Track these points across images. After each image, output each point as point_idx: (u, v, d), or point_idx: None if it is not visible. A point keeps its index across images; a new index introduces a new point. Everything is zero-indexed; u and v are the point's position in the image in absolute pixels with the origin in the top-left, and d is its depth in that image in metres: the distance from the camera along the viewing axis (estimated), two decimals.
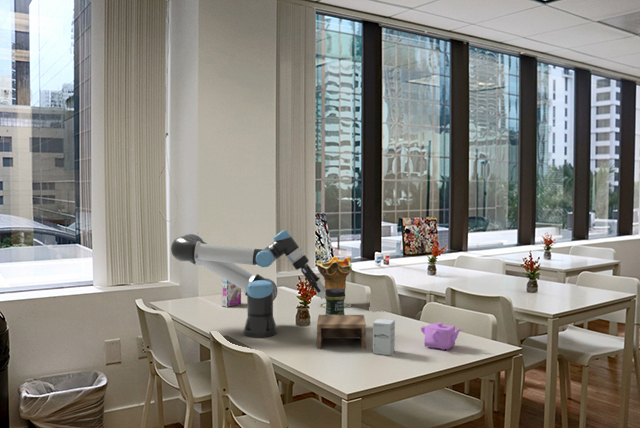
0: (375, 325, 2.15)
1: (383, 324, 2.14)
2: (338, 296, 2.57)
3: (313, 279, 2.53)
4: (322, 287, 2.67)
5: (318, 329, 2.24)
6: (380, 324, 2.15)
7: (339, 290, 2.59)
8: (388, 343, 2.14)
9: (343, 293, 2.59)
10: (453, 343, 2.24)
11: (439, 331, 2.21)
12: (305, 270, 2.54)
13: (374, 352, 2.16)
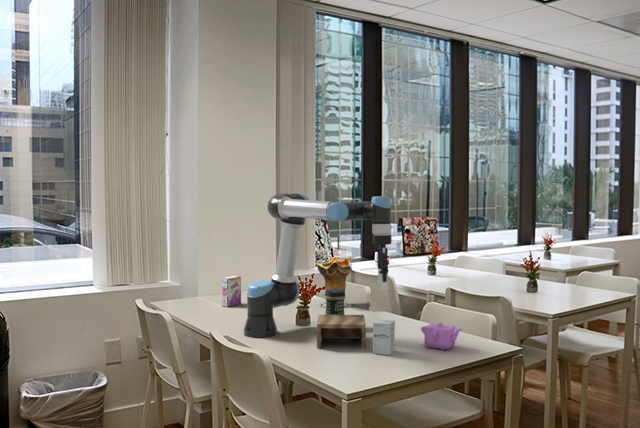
0: (375, 325, 2.15)
1: (383, 324, 2.14)
2: (338, 296, 2.57)
3: (387, 265, 2.11)
4: None
5: (318, 329, 2.24)
6: (380, 324, 2.15)
7: (339, 290, 2.59)
8: (388, 343, 2.14)
9: (343, 293, 2.59)
10: (453, 343, 2.24)
11: (439, 331, 2.21)
12: (385, 251, 2.12)
13: (374, 352, 2.16)
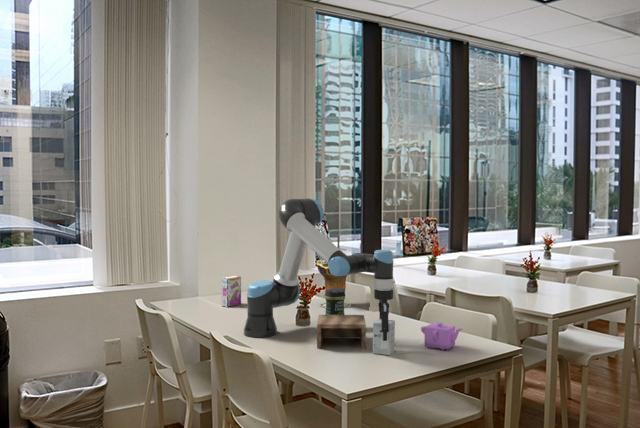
0: (375, 325, 2.15)
1: None
2: (338, 296, 2.57)
3: (388, 324, 2.11)
4: None
5: (318, 329, 2.24)
6: (380, 324, 2.15)
7: (339, 290, 2.59)
8: (388, 343, 2.14)
9: (343, 293, 2.59)
10: (453, 343, 2.24)
11: (439, 331, 2.21)
12: (386, 309, 2.11)
13: (374, 352, 2.16)
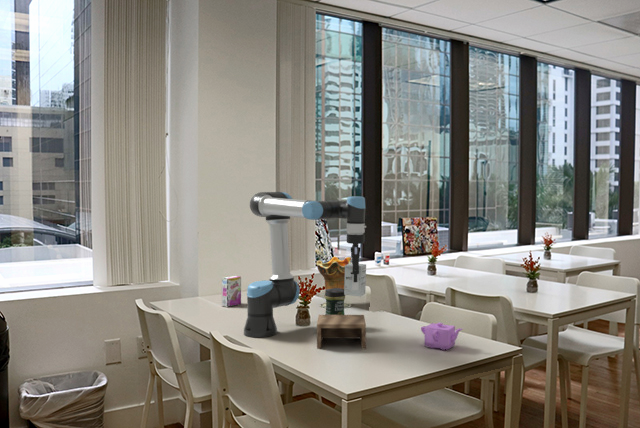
0: (346, 268, 2.24)
1: None
2: (338, 296, 2.57)
3: (358, 266, 2.20)
4: None
5: (318, 329, 2.24)
6: (351, 267, 2.23)
7: (339, 290, 2.59)
8: (359, 284, 2.23)
9: (343, 293, 2.59)
10: (453, 343, 2.24)
11: (439, 331, 2.21)
12: (357, 252, 2.20)
13: (345, 294, 2.25)
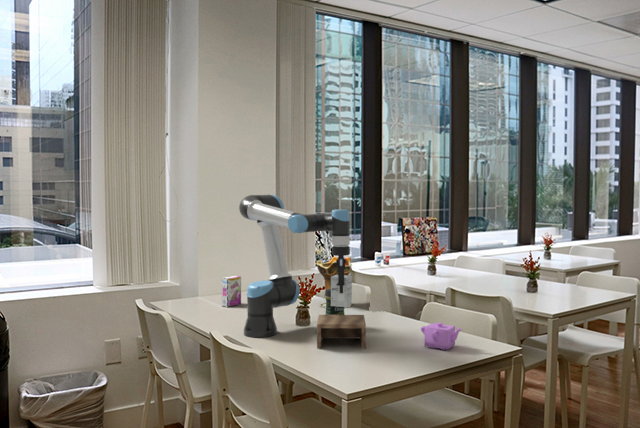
0: (332, 279, 2.30)
1: None
2: None
3: None
4: None
5: (318, 329, 2.24)
6: (337, 278, 2.29)
7: None
8: (345, 295, 2.28)
9: None
10: (453, 343, 2.24)
11: (439, 331, 2.21)
12: (342, 264, 2.25)
13: (332, 305, 2.30)
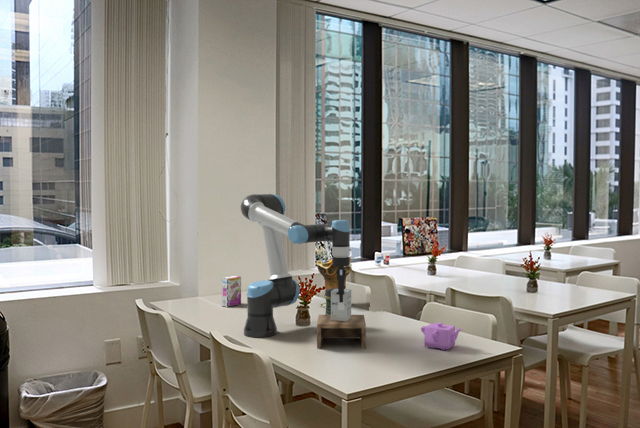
0: (332, 294, 2.29)
1: None
2: None
3: (344, 286, 2.24)
4: None
5: (318, 329, 2.24)
6: None
7: None
8: (345, 310, 2.28)
9: None
10: (453, 343, 2.24)
11: (439, 331, 2.21)
12: (342, 273, 2.25)
13: (332, 319, 2.30)
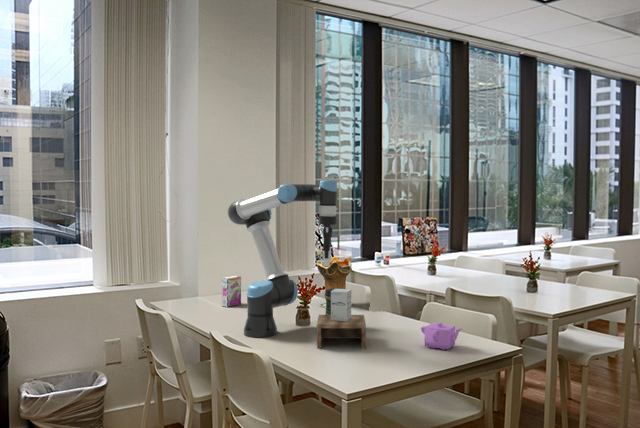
0: (332, 294, 2.29)
1: (340, 292, 2.28)
2: None
3: (329, 243, 2.31)
4: None
5: (318, 329, 2.24)
6: (337, 292, 2.29)
7: None
8: (345, 310, 2.28)
9: None
10: (453, 343, 2.24)
11: (439, 331, 2.21)
12: (328, 230, 2.32)
13: (332, 319, 2.30)
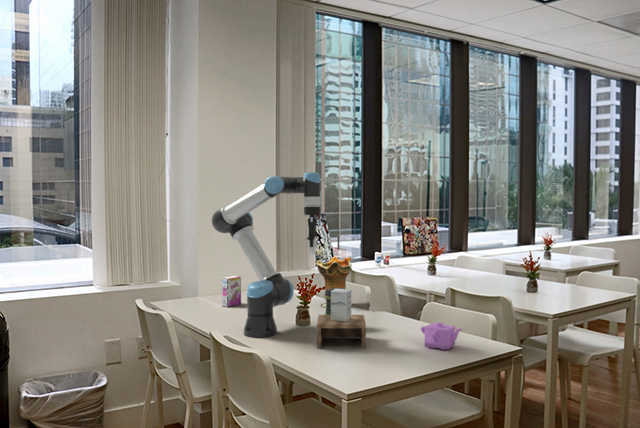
0: (332, 294, 2.29)
1: (340, 292, 2.28)
2: None
3: (314, 232, 2.41)
4: None
5: (318, 329, 2.24)
6: (337, 292, 2.29)
7: None
8: (345, 310, 2.28)
9: None
10: (453, 343, 2.24)
11: (439, 331, 2.21)
12: (312, 220, 2.42)
13: (332, 319, 2.30)
